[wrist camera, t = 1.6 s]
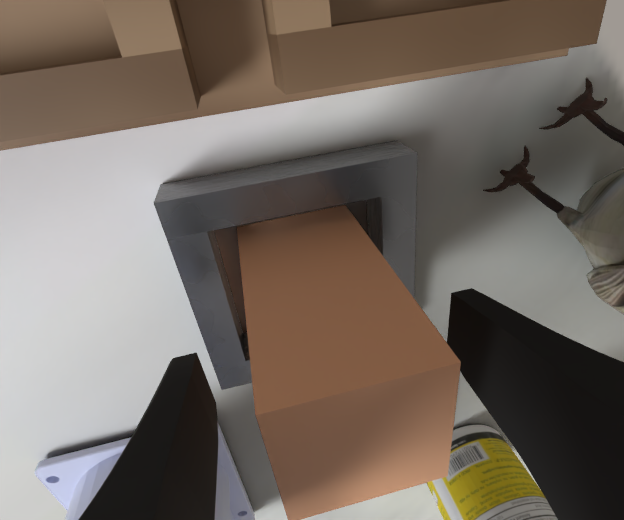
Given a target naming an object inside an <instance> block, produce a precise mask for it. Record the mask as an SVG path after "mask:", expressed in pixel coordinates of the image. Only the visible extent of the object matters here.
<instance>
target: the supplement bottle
mask: <svg viewBox="0 0 624 520" xmlns="http://www.w3.org/2000/svg"><path fill="white" fill-rule="evenodd" d="M427 485H428V487H429V489H430V491H431V493H432V495H433V497H434V500H435V502H436V504H437V506H438V508H439V510H440V512H441V514H442V516H443V519H444V520H558V519H557V517H556V516H555V514H554V512H553V510H552V508H551V507H550V505H549V503H548V501H547V500H546V498H545V496H544V494H543V493H542V491H541V490H540V488H539V487H538V486H537V484H536V483H535V482H534V480H533V479H532V477H531V476H530V475H529V473H528V472H527V470H526V469H525V468H524V466H523V465H522V463H521V462H520V461H519V459H518V458H517V456H516V455H515V454H514V452H513V451H512V449H511V448H510V447H509V446H508V444H507V443H506V441H505V440H504V439H503V437H502V436H501V435H500V434H499V432H498V431H496V430H495V429H494V428H492V427H489V426H486V425H469V426H464V427H460V428H457V429H455V430H453V435H452V444H451V452H450V461H449V470H448V476H447V477H444V478H440V479H437V480H433V481H430V482H427Z"/></svg>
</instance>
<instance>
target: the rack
mask: <svg viewBox="0 0 624 520" xmlns="http://www.w3.org/2000/svg"><path fill="white" fill-rule="evenodd" d="M605 4H606V0H0V151H1V150H7V149H12V148H18V147H24V146H30V145H36V144H42V143H48V142H54V141H60V140H66V139H72V138H78V137H84V136H90V135H96V134H102V133H108V132H114V131H120V130H126V129H132V128H138V127H144V126H150V125H156V124H161V123H167V122H173V121H179V120H185V119H191V118H197V117H203V116H209V115H215V114H221V113H227V112H233V111H239V110H245V109H251V108H257V107H263V106H269V105H275V104H281V103H287V102H293V101H299V100H305V99H311V98H316V97H322V96H328V95H334V94H340V93H346V92H352V91H358V90H364V89H370V88H376V87H382V86H388V85H394V84H400V83H406V82H412V81H418V80H424V79H430V78H436V77H442V76H448V75H454V74H460V73H465V72H471V71H477V70H483V69H489V68H495V67H501V66H507V65H513V64H519V63H525V62H531V61H537V60H543V59H549V58H555V57H561V56H567V55H568V50H569V48H572V47H578V46H584V45H590V44H597V39H598V35H599V31H600V26H601V22H602V18H603V13H604V9H605Z"/></svg>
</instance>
